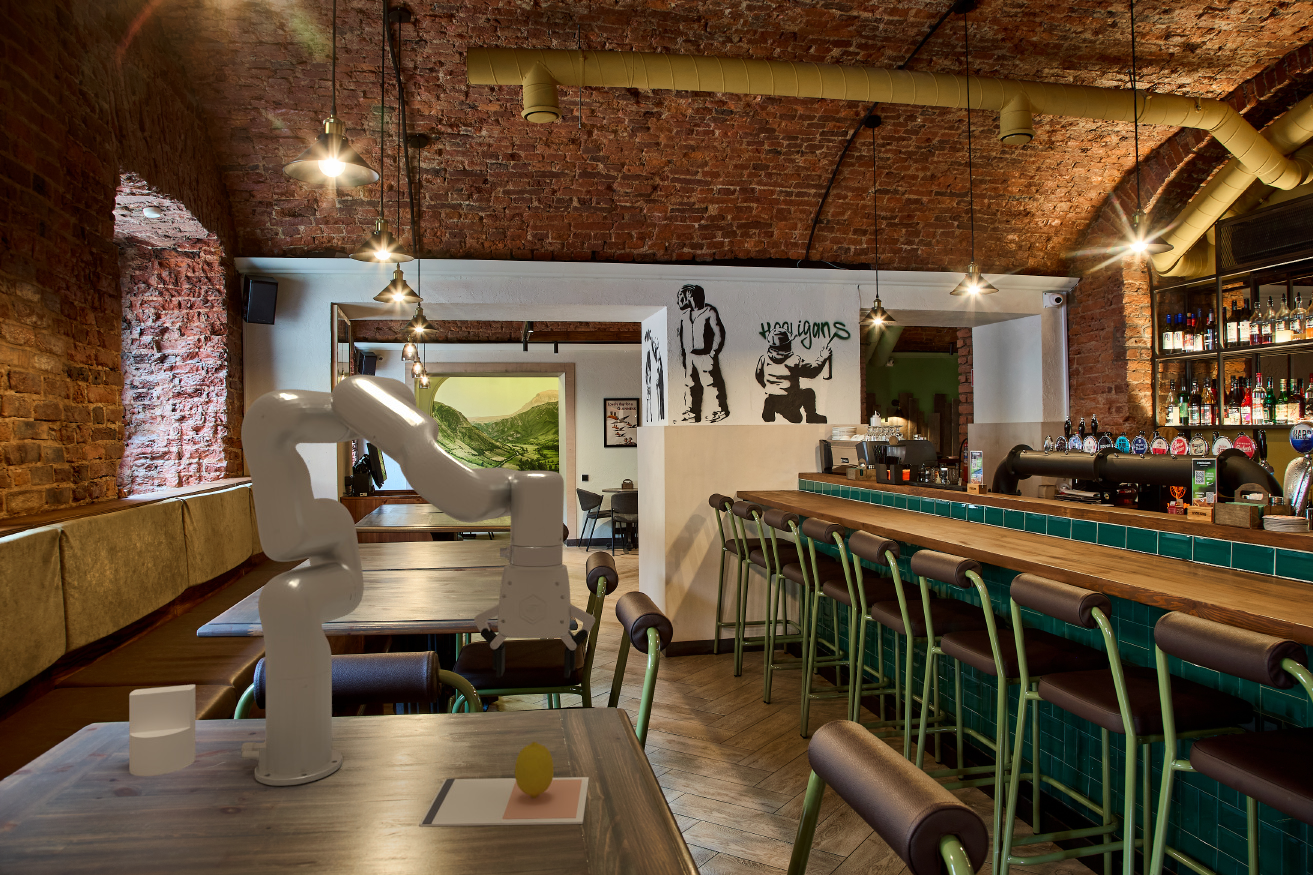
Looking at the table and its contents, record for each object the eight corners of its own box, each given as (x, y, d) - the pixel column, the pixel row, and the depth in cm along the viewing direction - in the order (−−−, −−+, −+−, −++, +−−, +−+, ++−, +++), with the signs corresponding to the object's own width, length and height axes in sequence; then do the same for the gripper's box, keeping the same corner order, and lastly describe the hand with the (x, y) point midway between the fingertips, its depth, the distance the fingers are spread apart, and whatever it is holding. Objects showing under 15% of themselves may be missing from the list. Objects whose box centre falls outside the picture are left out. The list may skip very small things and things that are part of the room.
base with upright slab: (201, 750, 132) (201, 678, 132) (187, 771, 123) (187, 695, 123) (139, 757, 129) (139, 684, 129) (121, 779, 120) (121, 701, 121)
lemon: (557, 789, 115) (557, 735, 115) (548, 807, 110) (548, 750, 110) (520, 788, 116) (520, 734, 116) (510, 805, 110) (510, 748, 110)
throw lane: (419, 826, 105) (419, 823, 105) (444, 781, 119) (444, 778, 119) (582, 823, 106) (582, 820, 106) (588, 778, 120) (588, 776, 120)
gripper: (470, 559, 109) (468, 682, 109) (594, 561, 109) (592, 683, 110) (481, 551, 117) (479, 666, 117) (597, 553, 117) (595, 667, 117)
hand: (534, 674), depth 113 cm, fingers open, 9 cm apart
